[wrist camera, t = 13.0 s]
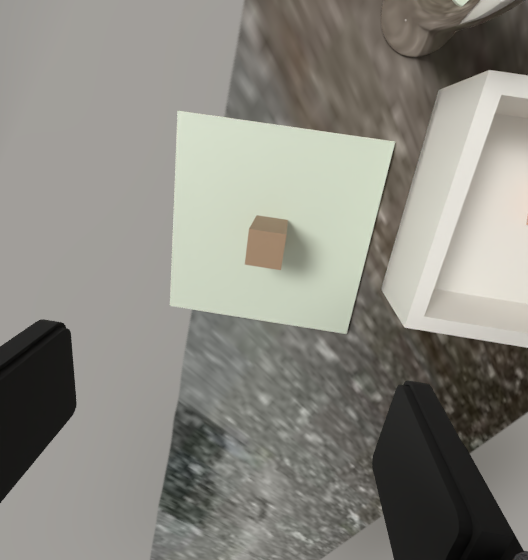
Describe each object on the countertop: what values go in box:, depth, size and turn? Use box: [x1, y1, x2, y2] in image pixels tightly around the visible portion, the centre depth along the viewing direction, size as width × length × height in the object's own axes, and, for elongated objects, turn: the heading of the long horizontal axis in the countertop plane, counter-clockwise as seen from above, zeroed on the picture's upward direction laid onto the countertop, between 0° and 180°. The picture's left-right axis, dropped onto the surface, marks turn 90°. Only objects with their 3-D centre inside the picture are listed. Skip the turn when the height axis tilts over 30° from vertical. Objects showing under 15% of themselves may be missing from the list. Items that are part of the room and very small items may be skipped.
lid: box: [170, 111, 395, 334], centre depth 31 cm, size 19×19×7 cm
